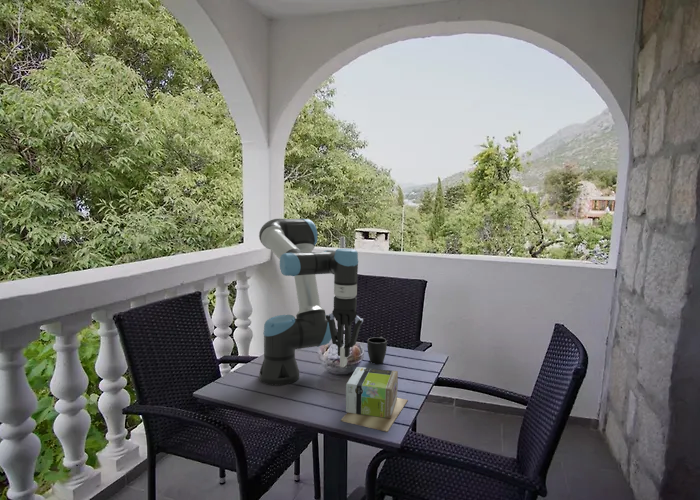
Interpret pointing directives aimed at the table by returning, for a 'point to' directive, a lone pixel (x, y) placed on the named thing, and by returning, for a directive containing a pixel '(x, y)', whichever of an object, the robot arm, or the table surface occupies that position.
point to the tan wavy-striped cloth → (376, 418)
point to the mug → (377, 349)
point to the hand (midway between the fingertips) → (343, 365)
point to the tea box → (372, 392)
